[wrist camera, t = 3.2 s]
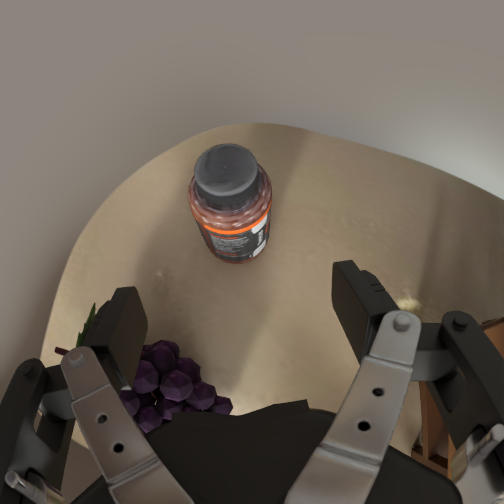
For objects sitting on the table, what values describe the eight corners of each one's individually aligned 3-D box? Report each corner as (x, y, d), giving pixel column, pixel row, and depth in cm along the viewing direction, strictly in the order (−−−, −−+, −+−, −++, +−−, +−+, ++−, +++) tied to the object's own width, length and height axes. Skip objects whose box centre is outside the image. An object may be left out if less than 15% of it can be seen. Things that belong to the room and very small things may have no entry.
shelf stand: (488, 320, 26) (537, 307, 18) (495, 419, 22) (542, 425, 14) (402, 347, 26) (448, 343, 18) (411, 459, 22) (453, 484, 14)
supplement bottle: (278, 251, 29) (290, 191, 18) (218, 275, 28) (193, 226, 17) (254, 198, 30) (253, 121, 20) (197, 219, 30) (168, 149, 19)
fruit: (212, 431, 26) (67, 392, 24) (236, 331, 28) (81, 290, 25) (225, 492, 16) (21, 434, 14) (262, 357, 18) (30, 293, 15)
